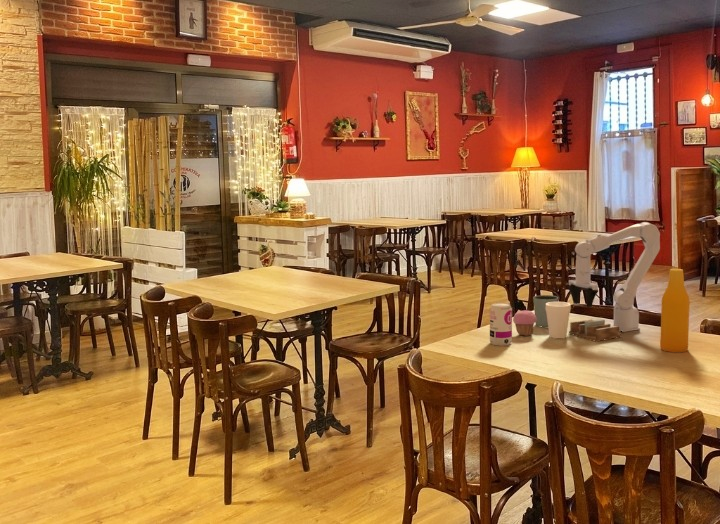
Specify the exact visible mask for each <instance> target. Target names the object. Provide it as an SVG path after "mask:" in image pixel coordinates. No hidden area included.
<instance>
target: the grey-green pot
mask: <svg viewBox="0 0 720 524" xmlns="http://www.w3.org/2000/svg"><path fill="white" fill-rule="evenodd" d="M532 298H533V299H532V300H533V301H532V302H533V306H534V307H533V309H534V310H533V311H534V314H535V316H536V322H535V323H534V324H535V326H536V325H537V326H536V327H538V326H542V327H541V328H544V327H548V321H547V313H546V303H548V302H559V297H558V296H556V295H553V294H552V295H550V294H549V295H548V294H547V295H546V294H541V295H535V296H533V297H532Z"/></svg>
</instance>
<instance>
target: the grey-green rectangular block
mask: <svg viewBox="0 0 720 524" xmlns="http://www.w3.org/2000/svg"><path fill="white" fill-rule="evenodd" d="M589 320H590V319H589ZM605 322H606V319H604V318H603V319H602V318H598V319H597V318H596V319H592V320H590V321H585V334H587V327H590V326H596V325H603V324H606V323H605Z"/></svg>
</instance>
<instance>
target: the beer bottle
mask: <svg viewBox="0 0 720 524" xmlns="http://www.w3.org/2000/svg"><path fill="white" fill-rule="evenodd" d="M668 274H669V275H668V283H667V286H666V289H665V290H664V292H663V294H662V297H661V309H660V310H661V311H660V312H661V313H660V315H661V317H660V340H659V347H660V349H661V350H662V351H664V352H668V353H685V352H687V351H688V349H689V330H690V329H689V326H690V305H691V303H690V302H691V301H690V296H689V294H688V291H687V289H686V286H685V279H684V278H685V277H684V276H685V275H684V270H683V268H682V269H681V268H670V270H669V273H668Z"/></svg>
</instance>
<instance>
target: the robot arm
mask: <svg viewBox="0 0 720 524" xmlns="http://www.w3.org/2000/svg"><path fill="white" fill-rule="evenodd" d="M660 236H661V233H660V231H659V229H658V227H657V225H655V224H652V223H650V222H648V221H643V222H640V223H636V224H633V225H630V226H627V227H625V228H623V229H621V230H618V231H616V232H613V233H611V234H609V235H606V234H604V233H603V234H601V233H598V234H597V235H596V236H595V237H592V238H589V239H588V238H586V239H585V241H580V242H578V243H577V244H576V245H575V248H574V252H575V253H576V256H575V258H576V260H575V280H574V279H571V280H570V279H569V280H568V285H569V286H568V287H567V289H568V290H569V293H570V295H571V299H572V301H573V302H572V303H573V304H574V305H576V304H579V303H580V293H581V290H582V288H584V289H583V291H584V295H585V301H586V302H585V305H586V307H587V308H589V307H590V308H591V307H593V303H594V301H595V297H596V295H597V294H598V293H599V285H598V284H595V283H593V282H591V275H592V274H591V272H592V271H591V268H592V265H591V255H592V254H595V253H598V252H601V251H603V250H606V249H608V248H610V246H611V244H613V243H615V242H619V241H621V240H624V239H628V238H630V237H633V238H638V239H639V238H640V239H641V240H642V244H643V245H644V249H643V252H642V253H641V254H640V256H639V258H638V260H637V261H636V263H635V265H634V266H633V268H632V270H631V272H630V273H629V275H628V277H627V279H626V280H625V282H624V283H623V284H622V285H621V286H620V288H619V289H617V290H616V291H615V292H614V293H613V297H612V298H613V300H614V302H615V304H614V305H613V324H612V325H613V326H619V332H621V331H622V333H625V332H631V331H637V330H641V328H640V327H639V323H640V313H639V310H638V308H637V307H635V306H633V305H634V303H635V297H636V295H637V293H638V292H637V291H638V288H639V287H640V284H641V283H642V281H643V280H644V278H645V276H646V274H647V272H648V271H649V269H650V267H651V266H652V264H653V263H654V260H655V259H656V257H657V255H658V254H659V252H660V250H661V245H660V244H661V241H660ZM613 326H612V327H613Z"/></svg>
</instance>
